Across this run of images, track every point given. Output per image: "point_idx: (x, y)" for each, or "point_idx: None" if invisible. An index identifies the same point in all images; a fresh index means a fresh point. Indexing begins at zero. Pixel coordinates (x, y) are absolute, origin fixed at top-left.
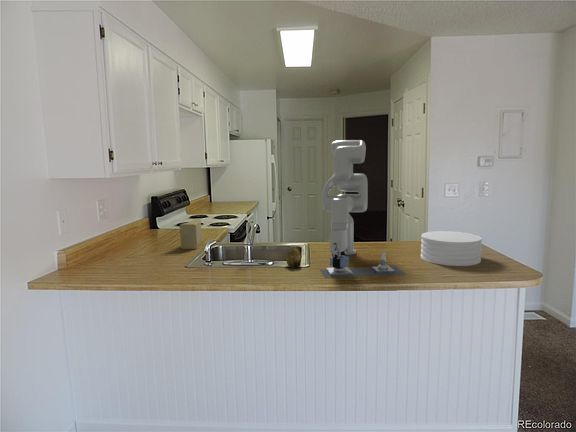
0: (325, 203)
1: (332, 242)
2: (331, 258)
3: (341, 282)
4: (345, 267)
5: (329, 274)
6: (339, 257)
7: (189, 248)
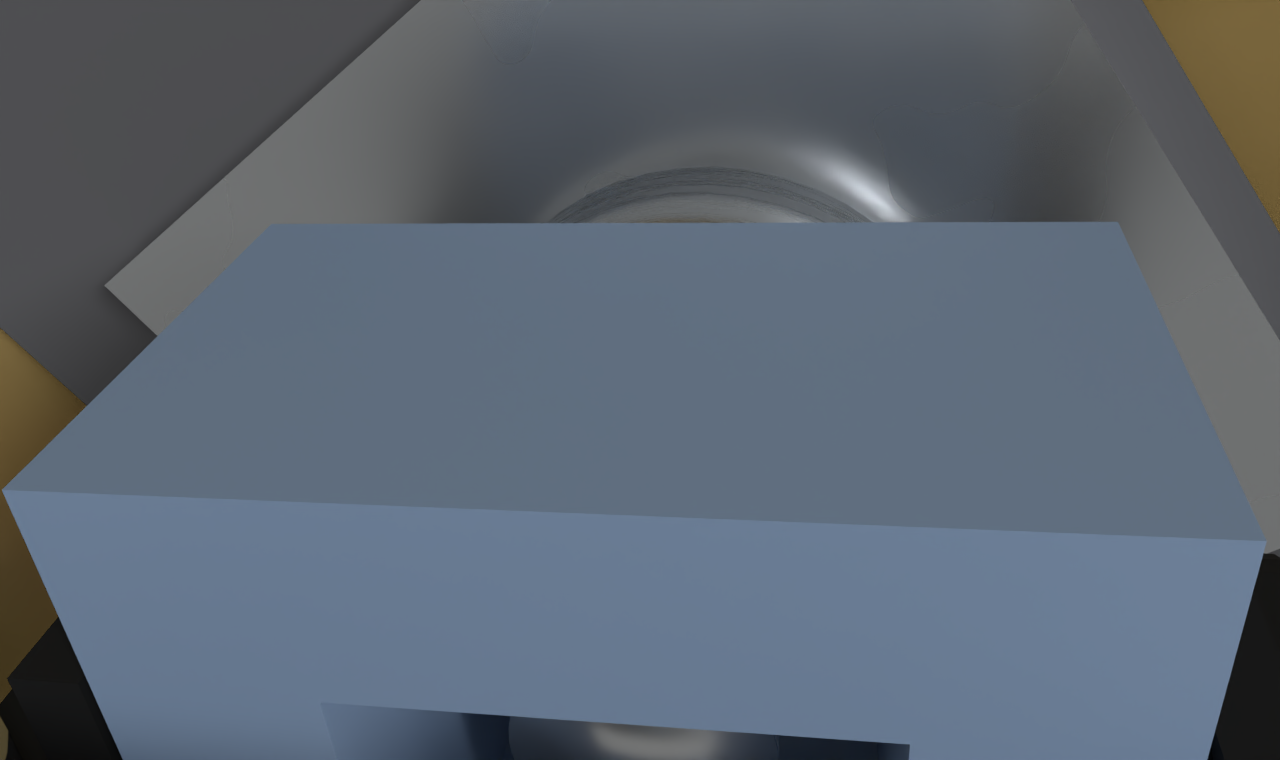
0: None
1: None
2: (81, 554)
3: (7, 634)
4: (1268, 453)
5: (258, 144)
6: (901, 755)
7: None
